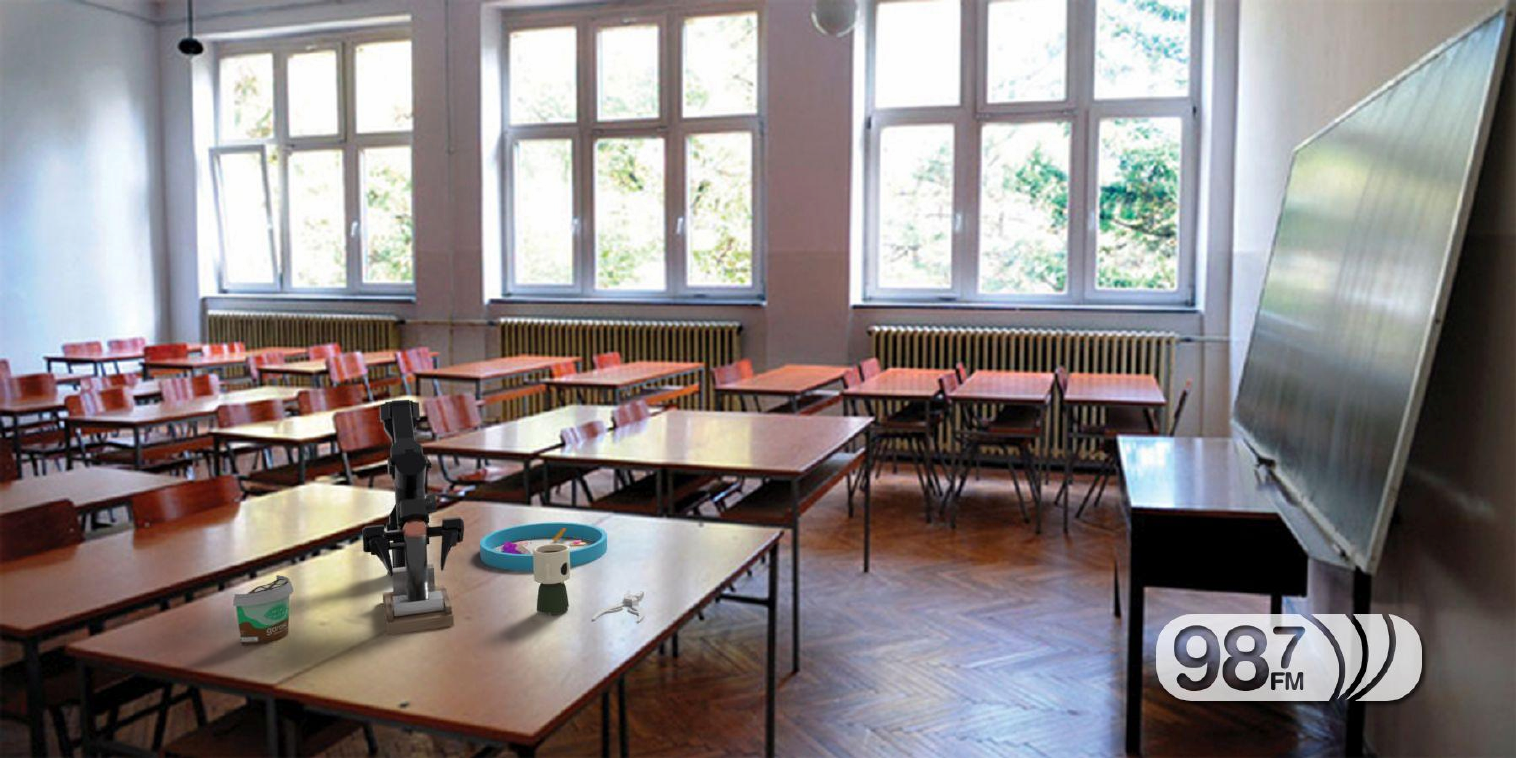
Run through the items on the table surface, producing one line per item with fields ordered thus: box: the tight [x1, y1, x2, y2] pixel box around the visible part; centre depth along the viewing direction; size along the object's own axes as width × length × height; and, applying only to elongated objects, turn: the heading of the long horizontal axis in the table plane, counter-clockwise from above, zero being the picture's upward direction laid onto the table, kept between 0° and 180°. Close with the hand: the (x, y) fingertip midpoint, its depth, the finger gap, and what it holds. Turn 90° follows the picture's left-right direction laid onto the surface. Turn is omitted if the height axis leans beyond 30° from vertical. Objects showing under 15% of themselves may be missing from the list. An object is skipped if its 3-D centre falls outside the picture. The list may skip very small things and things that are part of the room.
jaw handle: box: [393, 518, 444, 617], centre depth 190 cm, size 5×9×18 cm, turn 113°
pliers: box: [591, 590, 646, 624], centre depth 198 cm, size 10×2×15 cm
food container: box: [232, 574, 294, 647], centre depth 183 cm, size 12×6×10 cm, turn 168°
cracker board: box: [382, 563, 455, 635], centre depth 195 cm, size 20×12×7 cm, turn 23°
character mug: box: [532, 543, 571, 616], centre depth 195 cm, size 11×7×13 cm, turn 2°
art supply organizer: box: [479, 521, 608, 572], centre depth 238 cm, size 30×30×6 cm
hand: (417, 572), depth 189 cm, fingers open, 9 cm apart
